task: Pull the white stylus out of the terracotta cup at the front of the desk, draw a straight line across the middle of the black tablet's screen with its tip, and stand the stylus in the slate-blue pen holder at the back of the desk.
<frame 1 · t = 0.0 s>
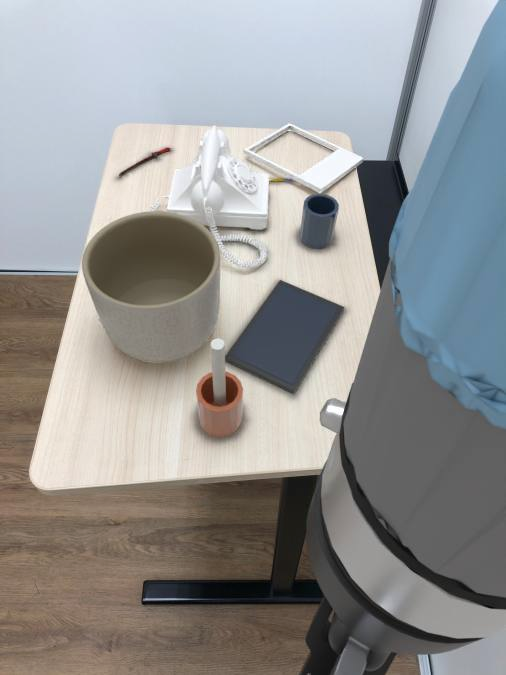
hand: (334, 620, 35), 25 cm above the table, tool pointing down, fingers open, 13 cm apart
katana: (132, 159, 103), on the table
tablet: (286, 334, 79), on the table
pen: (275, 178, 100), point 1 cm above the table, touching photo frame
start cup: (220, 417, 71), on the table
telephone: (208, 219, 94), on the table
holder: (315, 237, 92), on the table
photo frame: (343, 176, 100), point 1 cm above the table, touching pen
stylus: (220, 415, 70), point 1 cm above the table, touching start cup
planter: (164, 330, 79), on the table
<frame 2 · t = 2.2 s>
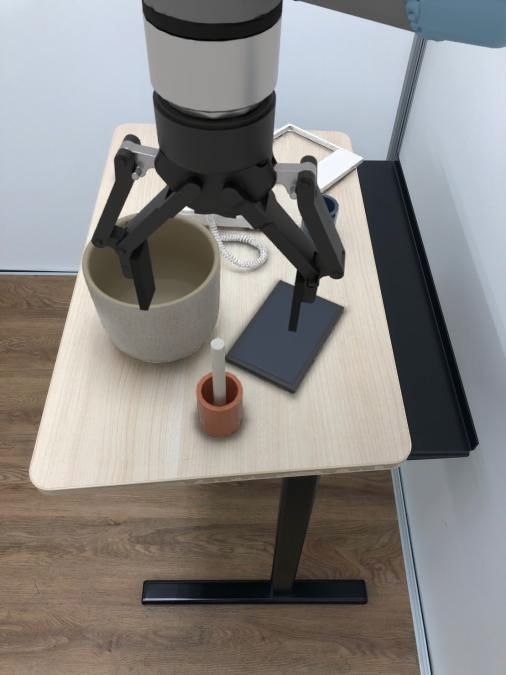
hand: (220, 309, 49), 25 cm above the table, tool pointing down, fingers open, 13 cm apart
nothing on the table moved.
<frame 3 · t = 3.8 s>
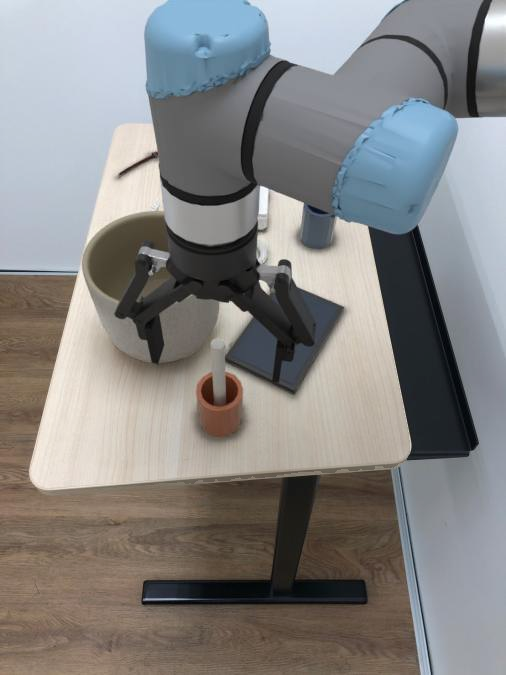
hand: (217, 363, 60), 13 cm above the table, tool pointing down, fingers open, 13 cm apart
nothing on the table moved.
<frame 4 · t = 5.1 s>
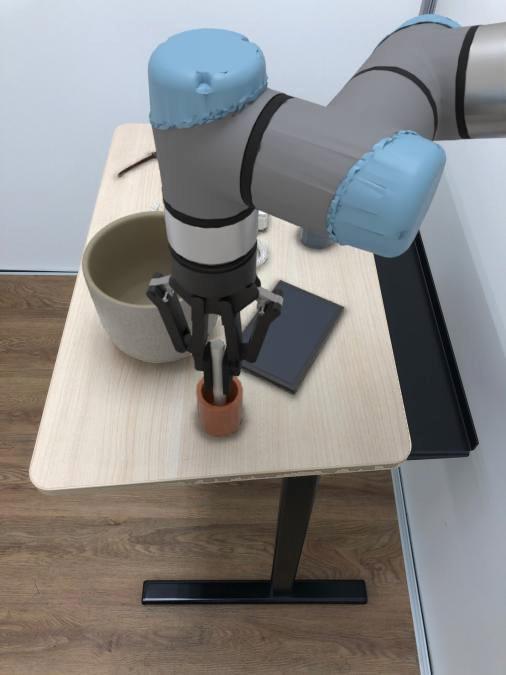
hand: (219, 383, 64), 8 cm above the table, tool pointing down, fingers closed on stylus, 1 cm apart
stylus: (220, 415, 70), point 1 cm above the table, touching gripper, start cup
everything else where it was.
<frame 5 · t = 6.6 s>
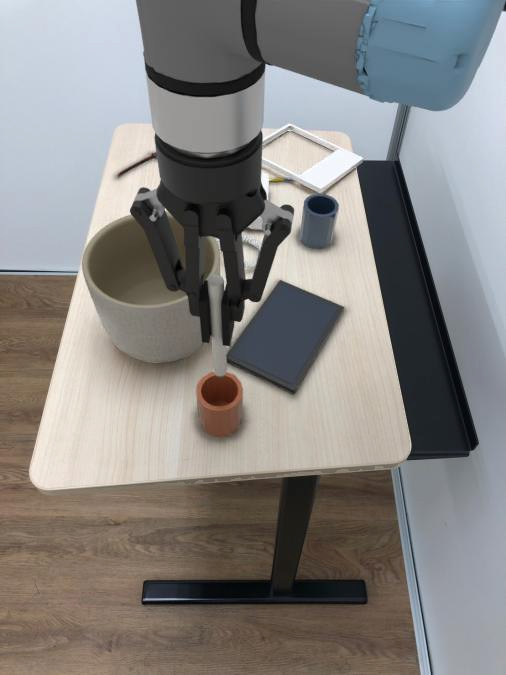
hand: (218, 333, 56), 19 cm above the table, tool pointing down, fingers closed on stylus, 1 cm apart
stylus: (220, 374, 62), point 11 cm above the table, touching gripper
everything else where it was.
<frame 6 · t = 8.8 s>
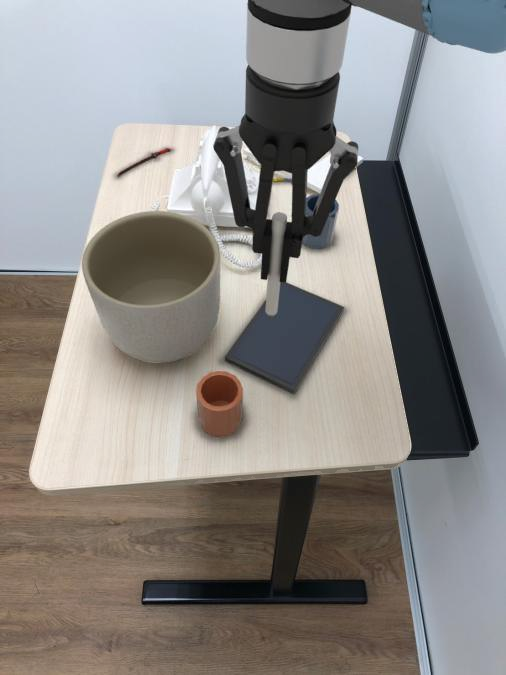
hand: (274, 272, 61), 18 cm above the table, tool pointing down, fingers closed on stylus, 1 cm apart
stylus: (271, 315, 68), point 11 cm above the table, touching gripper
everything else where it was.
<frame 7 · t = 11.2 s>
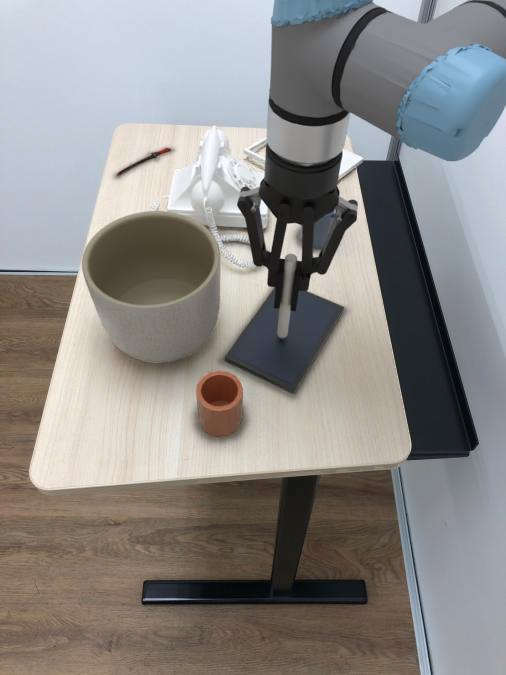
hand: (286, 301, 71), 9 cm above the table, tool pointing down, fingers closed on stylus, 1 cm apart
stylus: (281, 337, 77), point 1 cm above the table, touching gripper
everything else where it was.
when the fingers open (8 cm above the table, at t = 19.2 s): stylus stays where it is, resting on holder.
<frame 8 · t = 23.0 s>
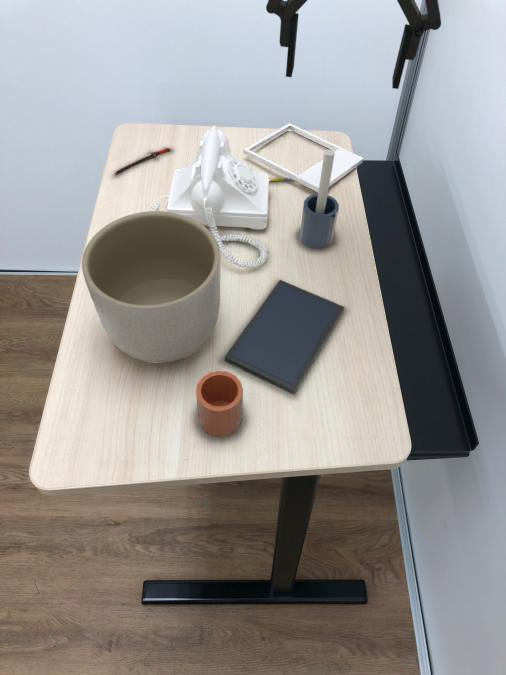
hand: (342, 77, 69), 28 cm above the table, tool pointing down, fingers open, 13 cm apart
stylus: (316, 234, 91), point 1 cm above the table, touching holder
everything else where it was.
at the end: stylus 0.1 cm off-centre in the holder, point 0.6 cm above the holder's base; stylus tilted 0°; the gripper is holding nothing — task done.
